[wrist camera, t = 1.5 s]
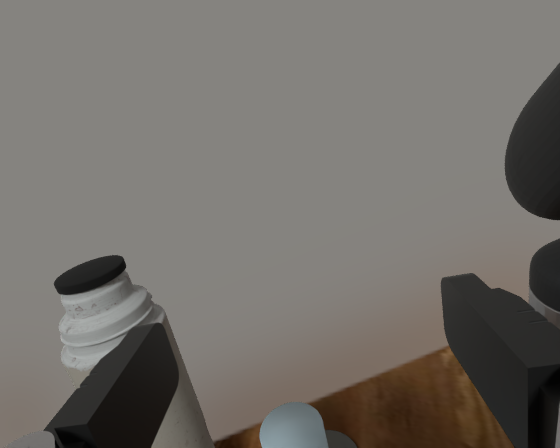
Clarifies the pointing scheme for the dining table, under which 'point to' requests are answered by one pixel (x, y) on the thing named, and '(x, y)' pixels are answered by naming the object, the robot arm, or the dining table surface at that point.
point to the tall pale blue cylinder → (293, 427)
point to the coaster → (338, 440)
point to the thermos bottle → (109, 333)
